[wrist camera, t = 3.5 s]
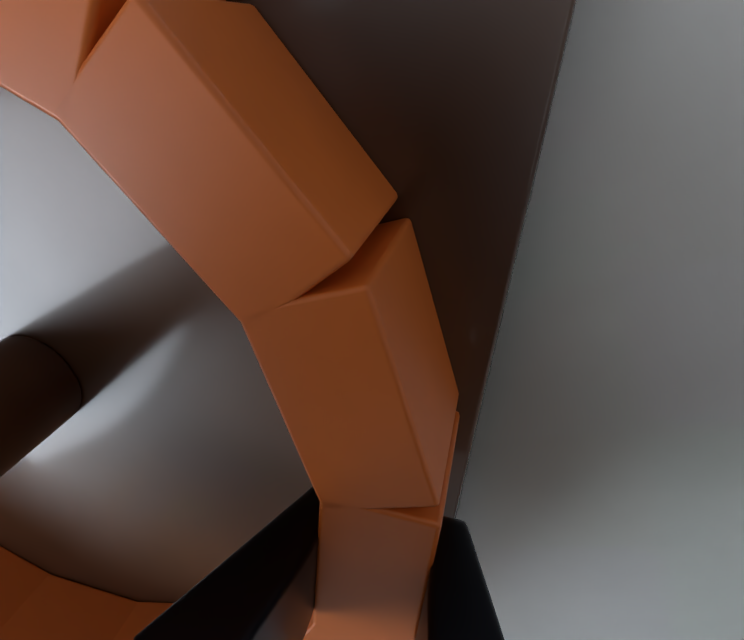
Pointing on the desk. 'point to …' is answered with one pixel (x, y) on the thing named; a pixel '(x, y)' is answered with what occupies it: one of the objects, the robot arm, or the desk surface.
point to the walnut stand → (211, 316)
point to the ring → (260, 284)
